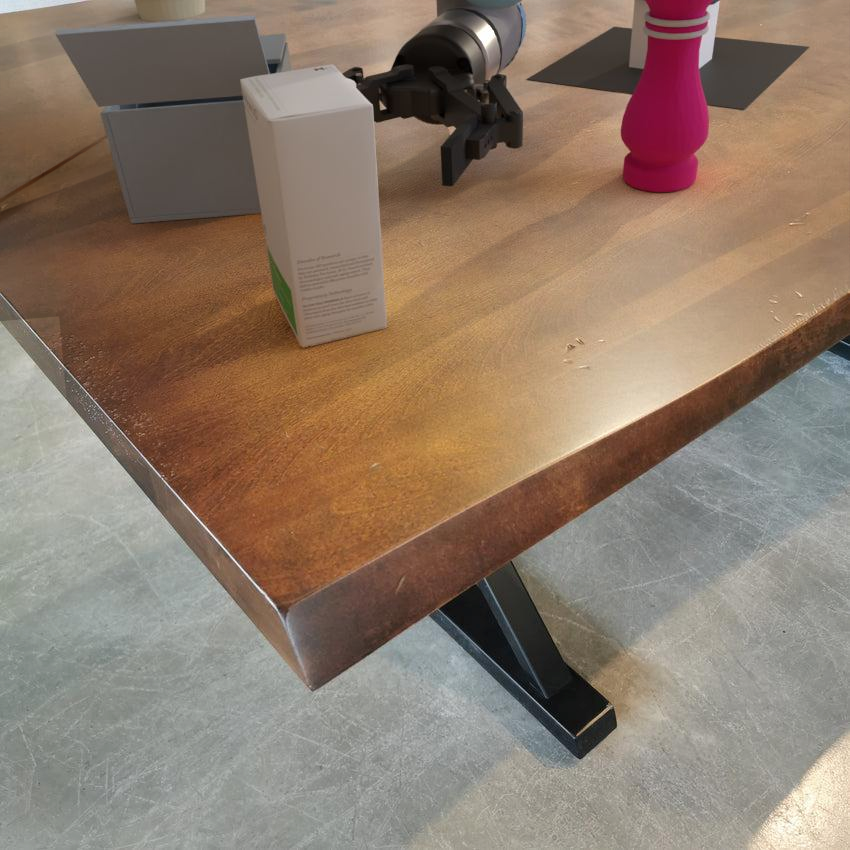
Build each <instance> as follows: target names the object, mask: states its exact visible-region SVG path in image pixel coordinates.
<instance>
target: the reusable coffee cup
mask: <svg viewBox="0 0 850 850" xmlns="http://www.w3.org/2000/svg"><path fill="white" fill-rule="evenodd" d="M134 3H135V7H136V9H137V12H138V15H139V18H140V19H141V20H144V21H147V22H154V23H158V22H172V21H183V20H188V19H191V18H194V17H197V16H200V15H202V14H203V13H205V12H206V0H134Z"/></svg>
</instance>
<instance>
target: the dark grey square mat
mask: <svg viewBox="0 0 850 850" xmlns="http://www.w3.org/2000/svg"><path fill="white" fill-rule="evenodd" d="M720 4H721V0H713V1H712V2H711V3H710V5H709V6H708V7H707V9H706V11H708V12H709V13H710V19H709V20H708V27H709V30H708V32H707V33H706V34H704V35H702V40H701V45H700V50H699V73H700V80H701V84H702V89H703V92H704V96H705V99H706V103H707V106H709V105H710V106H716V107H722V108H723V107H724V108H729V109H738V110H745V109H747V108H748V107H749V105H751V104H752V103H753V102H754V101H755V100H756V99H758V97H759V96H760V95H761V94H762V93H763V92H765V91H766V89H767V88H769V86H771V85H772V84H773V83H774V82H775V81H776V80H777V79H778V78H779V77H780V76H781V75H782V74H784V72H786V70H788V68H789V67H790V66H792V64H793V63H794V62H796V60H798V59H799V58H800V57H801V56H802V55H803V54H804V53H805V52H806V51H807V50H808V49H809V48H810V46H808V45H807V46H806V45H795V44H787V43H777V42H767V41H756V40H748V39H740V38H739V39H738V38H729V37H720V36H719V37H718V36H716V31H717V25H718V17H719V10H720ZM649 10H650V9H649V6H648V4H647V3H646V2H645V0H634V3H633V13H632V14H633V15H632V25H631V28H630V27H622V26H613V27H611V28H609V29H608V30H606V31H604V32H603V33H601V34H599V35H598V36H596V37H594V38H593V39H591V40H589V41H588V42H586V43H583V45H581V46H579V47H578V48H576V49H574V50H573V51H571V52H569V53H568V54H566V55H564V56H562V57H561V58H559V59H558V60H556V61H554V62H553V63H551V64H549V65H547V66H546V67H544V68H543V69H541V70H539V71H538V72H536V73H534V74H533V75H530V76H529V77H528V78H527V80H528V81H529V80H530V81H537V82H542V83H543V82H544V83H551V84H557V85H564V86H573V87H580V88H586V89H595V90H601V91H609V92H614V93H622V94H630V95H632V94H633V93H634V91H635V89H636V87H637V85H638V82H639V80H640V78H641V75H642V72H643V69H644V66H645V60H646V55H647V46H648V35H647V34H645V33H644V31H643V27H644V25H645V21H646V20H645V19H644V15H645V13H646V12H648V11H649Z"/></svg>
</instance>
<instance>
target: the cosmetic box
mask: <svg viewBox="0 0 850 850" xmlns="http://www.w3.org/2000/svg"><path fill="white" fill-rule="evenodd" d="M240 83H241V89H242V95H243V101H244V107H245V113H246V120H247V126H248V132H249V139H250V145H251V151H252V158H253V164H254V171H255V177H256V183H257V190H258V196H259V202H260V208H261V213H260V214H261V220H262V226H263V233H264V239H265V246H266V252H267V253H266V254H267V259H268V265H269V271H270V272H269V273H270V278H271V284H272V291H273V292H272V293H273V295H274V297H275V299H276V301H277V302H278V304H279V305H278V306H279V307H280V310H281V311H282V313H283V315H284V317H285V319H286V321H287V323H288V325H289V326H290V329H291V331H292V333H293V335H294V337H295V339H296V341H297V343H298V345H299V347H300V346H301V347H302V348H301V347H300V348H301V349H306V348H305V347H307V348H309V347H308V346H310V347H315V346H318V345H322V344H326V343H330V342H335V341H338V340H342V339H347V338H351V337H355V336H360V335H363V334H368V333H371V332H375V331H376V332H377V331H380V330H384V329H387V328H388V321H387V319H388V318H387V307H386V292H385V277H384V259H383V243H382V227H381V213H380V212H381V211H380V197H379V182H378V181H379V180H378V164H377V163H378V162H377V148H376V131H375V130H376V129H375V122H374V114H373V105H372V104H371V103H370V102H369V101H368V100H367V99H366V98H365V97H364V96H363V95H362V94H361V92H360V91H359V90H358V89H357V88H356V83H355V82H354V81H353V80H351V79H348V78H345V77H344V76H343V74H342V72H341V71H340V70H339V69H338V68H337V67H336V66H335V65H334V64H332V63H330V64H323V65H318V66H311V67H306V68H299V69H293V70H292V71H286V72H280V73H273V74H267V75H260V76H254V77H248V78H244V79H240Z"/></svg>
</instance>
